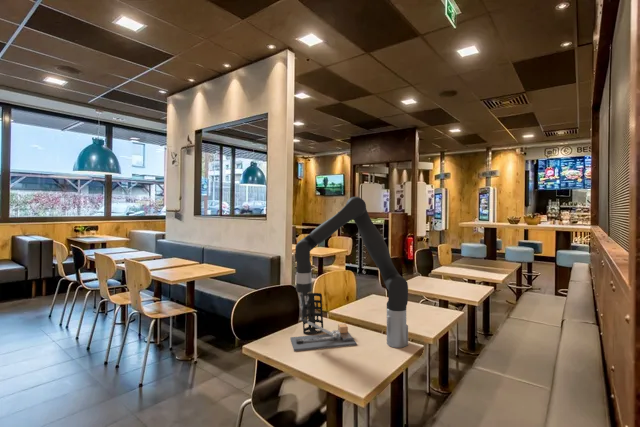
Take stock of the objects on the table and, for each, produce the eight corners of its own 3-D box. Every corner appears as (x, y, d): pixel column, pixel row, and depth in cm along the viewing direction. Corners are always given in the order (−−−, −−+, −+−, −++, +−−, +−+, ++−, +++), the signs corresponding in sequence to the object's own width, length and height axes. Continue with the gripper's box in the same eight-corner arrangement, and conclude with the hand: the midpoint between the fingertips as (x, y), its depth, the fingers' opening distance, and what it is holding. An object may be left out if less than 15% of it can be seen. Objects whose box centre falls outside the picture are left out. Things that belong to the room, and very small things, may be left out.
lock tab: (345, 329, 175) (345, 323, 175) (347, 332, 171) (347, 326, 171) (338, 330, 174) (338, 324, 174) (340, 333, 170) (340, 327, 170)
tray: (348, 333, 176) (348, 332, 176) (356, 345, 162) (356, 343, 162) (290, 339, 170) (290, 337, 170) (294, 351, 156) (294, 349, 156)
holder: (305, 335, 173) (304, 296, 174) (300, 331, 180) (299, 293, 181) (325, 332, 177) (323, 293, 179) (319, 329, 184) (318, 291, 186)
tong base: (346, 332, 175) (346, 325, 175) (352, 340, 165) (352, 333, 165) (294, 336, 170) (294, 330, 170) (297, 346, 159) (297, 338, 159)
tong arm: (332, 334, 168) (333, 332, 168) (334, 337, 165) (335, 335, 165) (299, 318, 164) (300, 316, 165) (300, 320, 162) (301, 318, 162)
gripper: (314, 284, 157) (314, 321, 158) (309, 277, 170) (309, 312, 171) (298, 285, 156) (298, 322, 156) (294, 278, 168) (294, 313, 169)
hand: (304, 317), depth 163 cm, fingers closed
